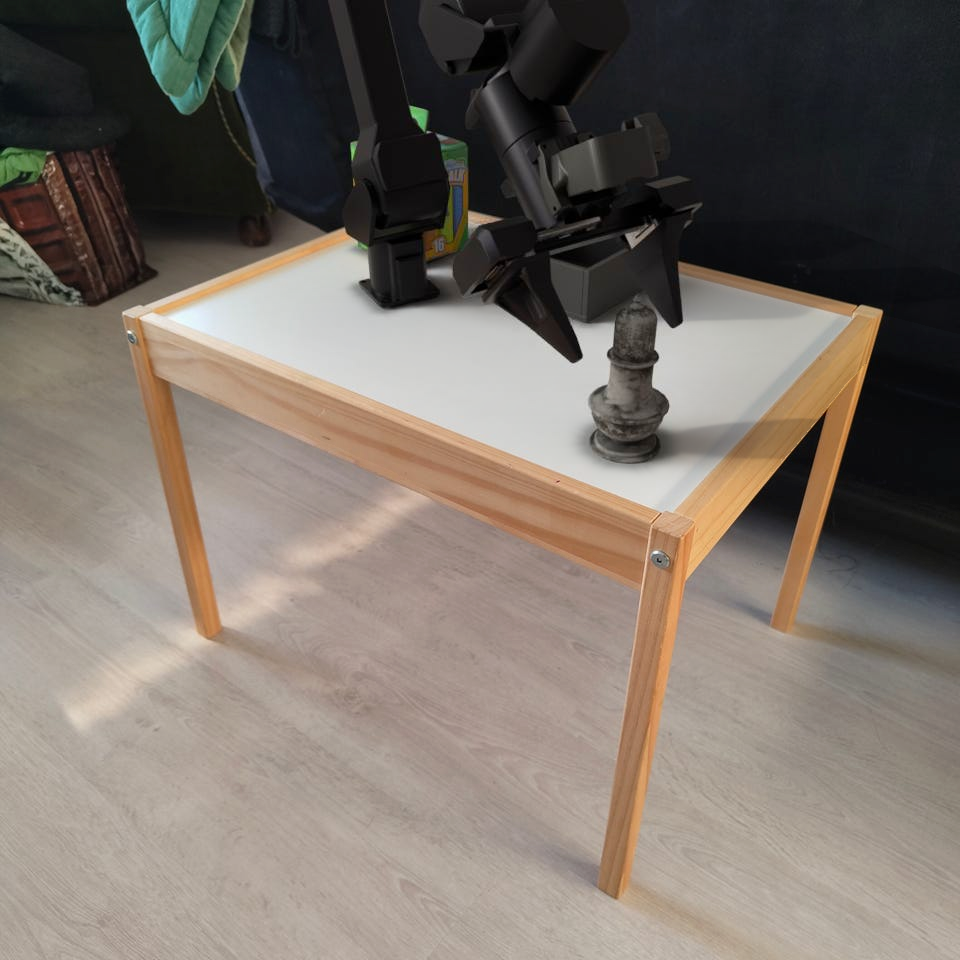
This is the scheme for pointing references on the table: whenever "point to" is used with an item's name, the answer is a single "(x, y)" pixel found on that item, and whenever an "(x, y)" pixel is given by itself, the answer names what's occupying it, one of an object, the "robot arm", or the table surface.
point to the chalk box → (457, 209)
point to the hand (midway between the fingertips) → (629, 342)
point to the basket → (592, 278)
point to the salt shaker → (629, 391)
